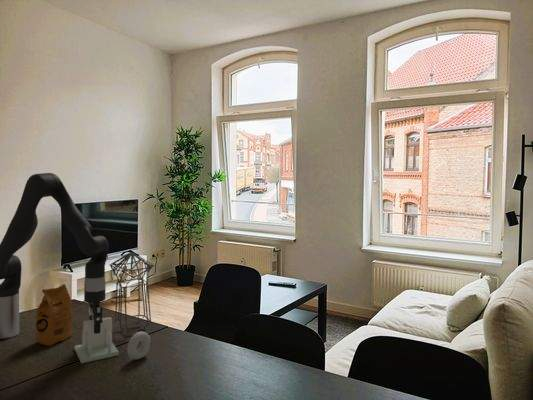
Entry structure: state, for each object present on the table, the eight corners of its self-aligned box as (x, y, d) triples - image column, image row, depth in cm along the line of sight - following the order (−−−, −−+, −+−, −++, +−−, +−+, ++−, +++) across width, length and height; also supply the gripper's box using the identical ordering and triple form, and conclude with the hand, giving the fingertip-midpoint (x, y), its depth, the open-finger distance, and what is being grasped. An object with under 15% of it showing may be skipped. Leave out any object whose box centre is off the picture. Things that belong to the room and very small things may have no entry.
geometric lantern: (156, 334, 174) (155, 253, 171) (118, 342, 165) (117, 257, 162) (145, 322, 187) (143, 248, 184) (109, 330, 178) (107, 251, 175)
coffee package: (31, 343, 161) (31, 288, 161) (58, 332, 173) (58, 282, 172) (49, 347, 158) (49, 291, 157) (75, 336, 169) (75, 284, 168)
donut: (131, 365, 144) (131, 337, 143) (124, 362, 145) (125, 335, 145) (152, 354, 152) (152, 328, 152) (145, 352, 154) (145, 327, 154)
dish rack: (74, 349, 156) (74, 327, 156) (109, 342, 163) (109, 322, 163) (81, 363, 144) (81, 339, 144) (118, 355, 152) (118, 332, 151)
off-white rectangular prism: (83, 347, 155) (83, 321, 154) (110, 341, 160) (110, 316, 160) (84, 349, 153) (84, 323, 152) (112, 343, 158) (112, 318, 158)
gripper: (81, 285, 159) (80, 325, 160) (88, 293, 147) (87, 337, 148) (101, 283, 163) (100, 322, 164) (109, 291, 151) (109, 333, 152)
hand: (94, 329), depth 156 cm, fingers open, 8 cm apart
